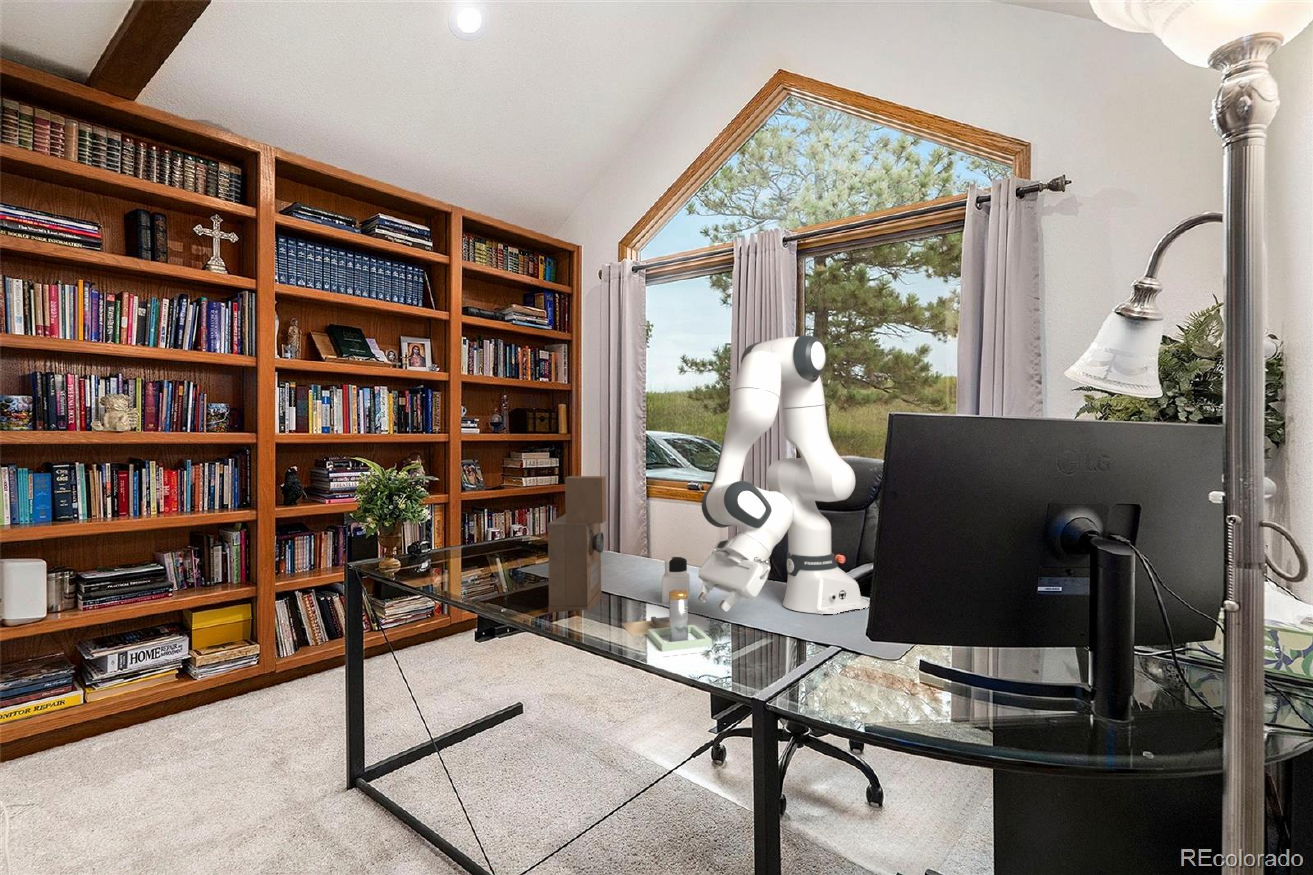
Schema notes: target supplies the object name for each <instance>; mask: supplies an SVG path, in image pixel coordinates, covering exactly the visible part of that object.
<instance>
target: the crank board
mask: <svg viewBox="0 0 1313 875" xmlns="http://www.w3.org/2000/svg"><path fill="white" fill-rule="evenodd" d="M620 625H622V626H623V628H624V629H625V630H626V632H627V633H628V634H629V635H630V637H634V636H635V637H636V636H648V629H657V628H667V627H670V617H669V616H663V617H656V616H651V617H650V620H642V621H633V622H622V623H621V622H620Z"/></svg>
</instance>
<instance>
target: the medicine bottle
mask: <svg viewBox="0 0 1313 875" xmlns="http://www.w3.org/2000/svg"><path fill="white" fill-rule="evenodd" d="M687 562H688V561H687V559H686V558H684V557H681V556H670V557H667V558H666V559H665V560H664V573H663V575H662V578H661V599H662V600H661V604H662V603H669V591H671V590H686V591H687V592H688V602H689V601H690V598H691V597H690V596H691V592H690V591H691V588H690V585H691V584H690V573H689V572H688V565H687V564H688V563H687Z"/></svg>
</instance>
